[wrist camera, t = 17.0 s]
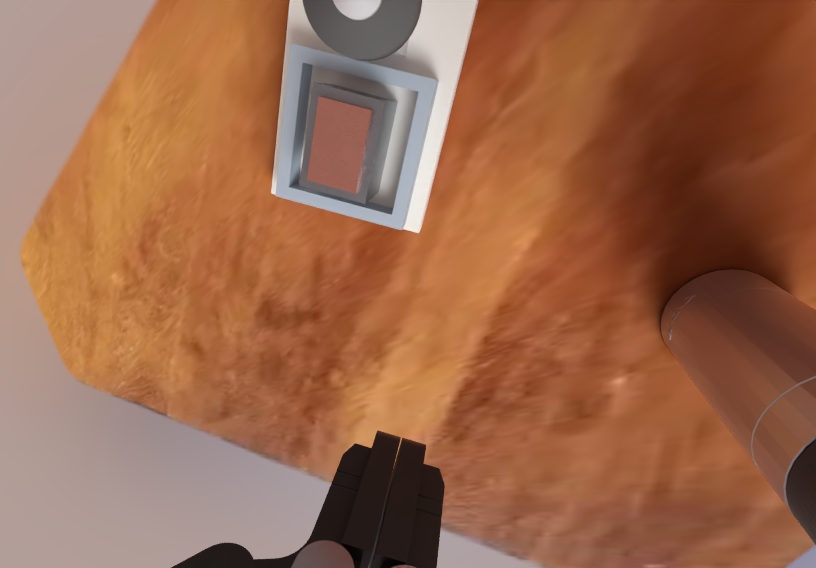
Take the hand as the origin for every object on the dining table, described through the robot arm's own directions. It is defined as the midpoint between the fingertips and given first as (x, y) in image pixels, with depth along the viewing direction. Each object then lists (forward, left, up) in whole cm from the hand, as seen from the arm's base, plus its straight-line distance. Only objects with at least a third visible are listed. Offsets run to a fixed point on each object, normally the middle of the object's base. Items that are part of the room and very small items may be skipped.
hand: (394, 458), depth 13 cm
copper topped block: (+9, -5, -25) cm, 27 cm away
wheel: (+9, -14, -25) cm, 30 cm away
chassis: (+9, -8, -27) cm, 30 cm away
